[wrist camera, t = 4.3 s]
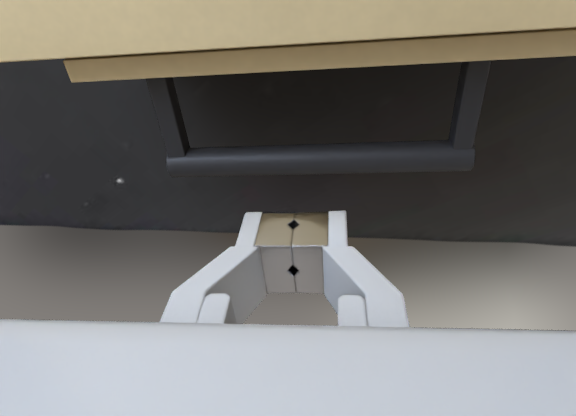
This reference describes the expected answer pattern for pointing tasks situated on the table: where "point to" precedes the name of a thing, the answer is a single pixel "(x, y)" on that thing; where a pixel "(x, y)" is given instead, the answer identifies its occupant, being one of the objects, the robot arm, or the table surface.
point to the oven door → (331, 55)
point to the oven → (250, 23)
